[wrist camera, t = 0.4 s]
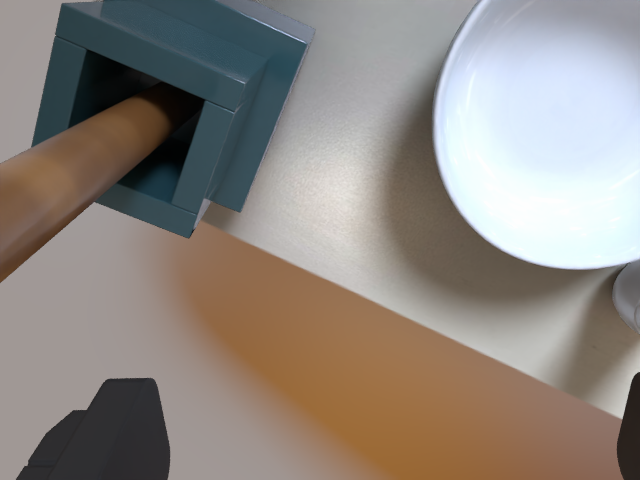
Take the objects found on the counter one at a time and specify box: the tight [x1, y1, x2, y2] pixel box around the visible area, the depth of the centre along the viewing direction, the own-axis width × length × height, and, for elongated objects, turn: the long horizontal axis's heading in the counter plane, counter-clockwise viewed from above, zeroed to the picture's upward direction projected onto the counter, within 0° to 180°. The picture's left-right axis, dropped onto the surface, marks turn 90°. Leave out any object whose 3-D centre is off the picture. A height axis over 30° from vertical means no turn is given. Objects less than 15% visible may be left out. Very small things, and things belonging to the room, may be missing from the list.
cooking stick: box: [0, 81, 204, 283], centre depth 20 cm, size 2×2×20 cm
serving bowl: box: [432, 0, 640, 270], centre depth 36 cm, size 21×21×7 cm
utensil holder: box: [31, 0, 315, 238], centre depth 30 cm, size 10×10×19 cm
